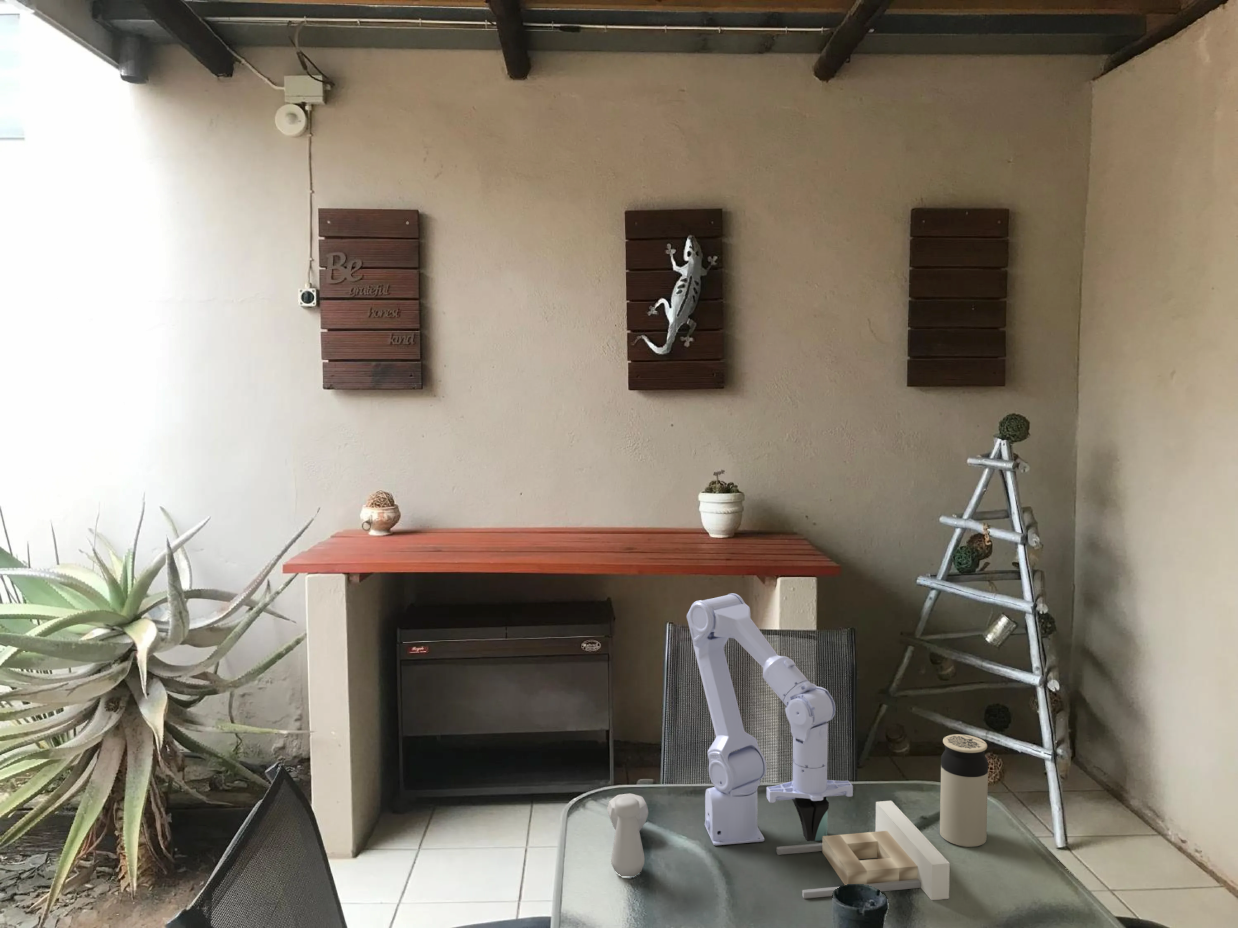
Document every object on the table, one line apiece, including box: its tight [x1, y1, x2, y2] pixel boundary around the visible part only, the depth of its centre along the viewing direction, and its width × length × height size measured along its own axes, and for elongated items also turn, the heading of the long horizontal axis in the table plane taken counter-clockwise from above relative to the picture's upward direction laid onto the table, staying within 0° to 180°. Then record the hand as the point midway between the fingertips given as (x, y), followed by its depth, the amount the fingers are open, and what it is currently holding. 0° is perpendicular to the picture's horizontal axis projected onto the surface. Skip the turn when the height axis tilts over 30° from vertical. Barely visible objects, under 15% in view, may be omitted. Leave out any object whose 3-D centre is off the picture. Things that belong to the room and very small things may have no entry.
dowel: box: [815, 797, 829, 842], centre depth 168 cm, size 4×4×7 cm
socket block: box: [821, 831, 918, 886], centre depth 157 cm, size 12×12×3 cm
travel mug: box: [939, 733, 989, 848], centre depth 166 cm, size 8×8×18 cm
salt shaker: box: [610, 796, 646, 876], centre depth 156 cm, size 6×6×13 cm
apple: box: [606, 793, 649, 832], centre depth 170 cm, size 8×8×7 cm
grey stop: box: [776, 800, 951, 901], centre depth 156 cm, size 23×22×6 cm
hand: (809, 837), depth 155 cm, fingers closed
